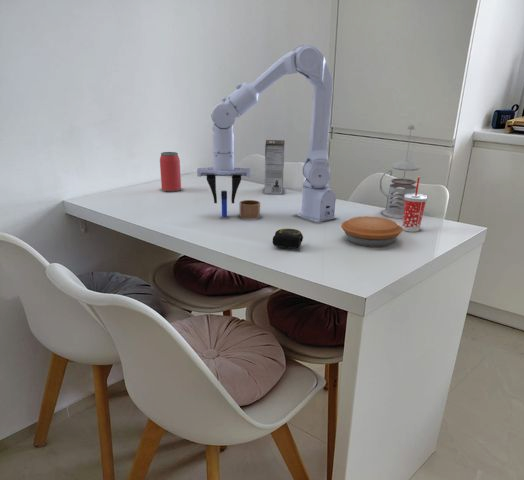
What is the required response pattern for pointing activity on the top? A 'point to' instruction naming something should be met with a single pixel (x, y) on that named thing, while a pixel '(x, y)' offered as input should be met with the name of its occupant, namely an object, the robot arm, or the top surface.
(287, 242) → the tape measure
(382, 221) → the pie
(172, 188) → the beer can
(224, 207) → the marker
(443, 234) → the top surface
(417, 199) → the beverage cup
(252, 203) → the brown wooden bowl
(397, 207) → the french press
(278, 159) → the coffee box
